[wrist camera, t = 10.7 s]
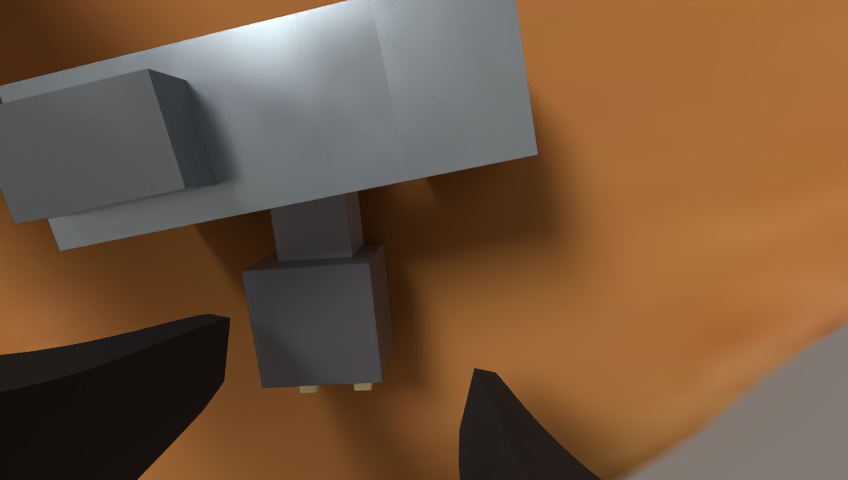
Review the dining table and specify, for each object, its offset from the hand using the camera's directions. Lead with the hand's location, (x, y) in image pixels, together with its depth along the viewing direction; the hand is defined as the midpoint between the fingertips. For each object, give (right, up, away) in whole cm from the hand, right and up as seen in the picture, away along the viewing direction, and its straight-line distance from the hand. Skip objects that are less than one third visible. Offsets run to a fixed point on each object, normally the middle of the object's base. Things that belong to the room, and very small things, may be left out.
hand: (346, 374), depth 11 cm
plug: (-1, +5, +4) cm, 6 cm away
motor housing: (-1, +8, +3) cm, 8 cm away
